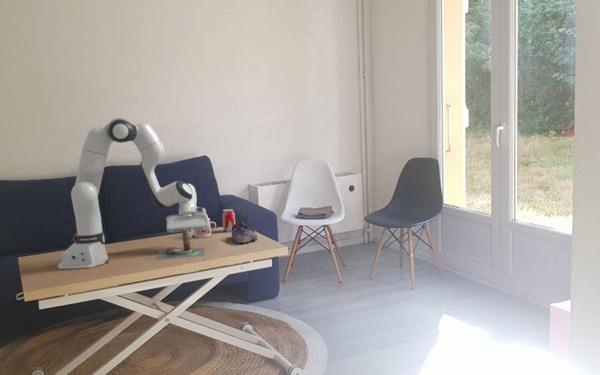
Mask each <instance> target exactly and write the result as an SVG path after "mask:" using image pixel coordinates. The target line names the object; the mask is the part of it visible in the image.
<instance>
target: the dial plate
mask: <svg viewBox="0 0 600 375" xmlns="http://www.w3.org/2000/svg"><path fill="white" fill-rule="evenodd" d="M177 250H184V248H180V249H179V248H178V249H177ZM191 250H196V252H195V253H191V252H175V253H173V254H166V250H159V252H158V253H157V256H156V258H155V261H163V260H172V259H182V258H183V259H185V258H193V257H194V258H195V257H204V256H205V253H206V252H205V251H206V247H205V246H202V247H201V246H200V247H191Z"/></svg>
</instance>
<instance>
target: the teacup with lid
mask: <svg viewBox="0 0 600 375" xmlns="http://www.w3.org/2000/svg"><path fill="white" fill-rule="evenodd" d="M208 220H209V226H210V228H209V229H208V230H196V231H194V237H195V238H198V239H199V238H200V239H202V238H209V237H211V236H212V232H213V231H215V230H216V227H217V224H216V222H214V221H211V218H210V217H208ZM211 224H214V227H213V228H211Z"/></svg>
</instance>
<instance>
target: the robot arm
mask: <svg viewBox="0 0 600 375" xmlns="http://www.w3.org/2000/svg"><path fill="white" fill-rule="evenodd" d="M114 142H116V143H120V144H121V143H127V142H133V143H134V145H135V146H136V147H137V148H136V149H137V150H138V151H139V154H140V156H141V161H140V169H141V172H142V174H143V177H144V180H145V182H146V185H147V186H148V189H149V192H150V195H151V199H152V202H153V204H154V206H155V207H157V208H158V209H161V210H166V209H167V208H169V207H171V206H172V205H173V206H174V205H175V204H179V205H178V213H177V214H169V215H168V216H166V231H167V232H168V233H170V234H171V233H182V229H189V234H190V239H192V236H193V234H195V231H196V230H208V229H209V228H210V227H211V225H210V226H209V220H208V218H209V217H208V216H209V215H208V214H207V211H206V209H205V207H198V206H197V203H198V202H197V199H198V198H197V196H198V195H197V191H196V188H195V186H194V185H192V184H191V183H186V182H185V181H183V180H176V181H173V182H171V183H169V184H167V185H166V186H163V187H161V186H160V184H159V181H158V179H157V176H156V173H155V169H156V167H157V165H158V164H159V163H160V162H161V161H162V159H163V157H164V155H165V147H164V145H163V143H162V141H161V139H160V137H159V136H158V134H157V133H156V131H155V130H154V129H153V127H152V126H151V125H150V124H149V123H147V122H139V123H137V124H133V123H130V121H129V120H127V119H125V118H122V117H116V118H113V119H112V120H110V121H109V123H107V125H105V127H103V128H102V127H93V128H91V129H89V131H88V133H87V135H86V137H85V140H84V143H83V146H82V150H81V155H80V158H79V163H78V169H77V174H76V179H75V183H74V185H73V187H72V189H71V192H70V197H71V203H72V207H73V212H74V217H75V224H76V225H75V226H76V233H75V234H74V236H73V237H72V241H73V243H72V244H71V245H70V246H68V248H67V249H66V250H65V251H64V252H63V255H62V260H61V262H59V263H58V264H57V269H58V270H65V269H67V270H69V269H70V270H71V269H90V268H93V267H96V266H100V265H103V264H104V265H105V264H106V263H108V262H109V261H108V259H109V255H108V253H107V250H106V246H105V242H106V241H105V233H104V231H103V225H102V224H103V222H102V215H101V210H100V205H99V197H98V196H99V193H100V189H101V184H102V180H103V175H104V172H105V171H104V170H105V166H106V162H107V159H108V154H109V149H110V146H111V145H112V143H114Z"/></svg>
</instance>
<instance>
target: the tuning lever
mask: <svg viewBox="0 0 600 375" xmlns="http://www.w3.org/2000/svg"><path fill="white" fill-rule="evenodd" d="M181 233H182V242H183V243H182V244H183V249H184V250H178V249H176V247H173V246H172V247H166V248H165V251H166V254H173V253H175V252H191V253H195V252H196V250H191V248H192V247H191V238H190V234H189V233H190V231H189V229H182V232H181Z"/></svg>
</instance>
